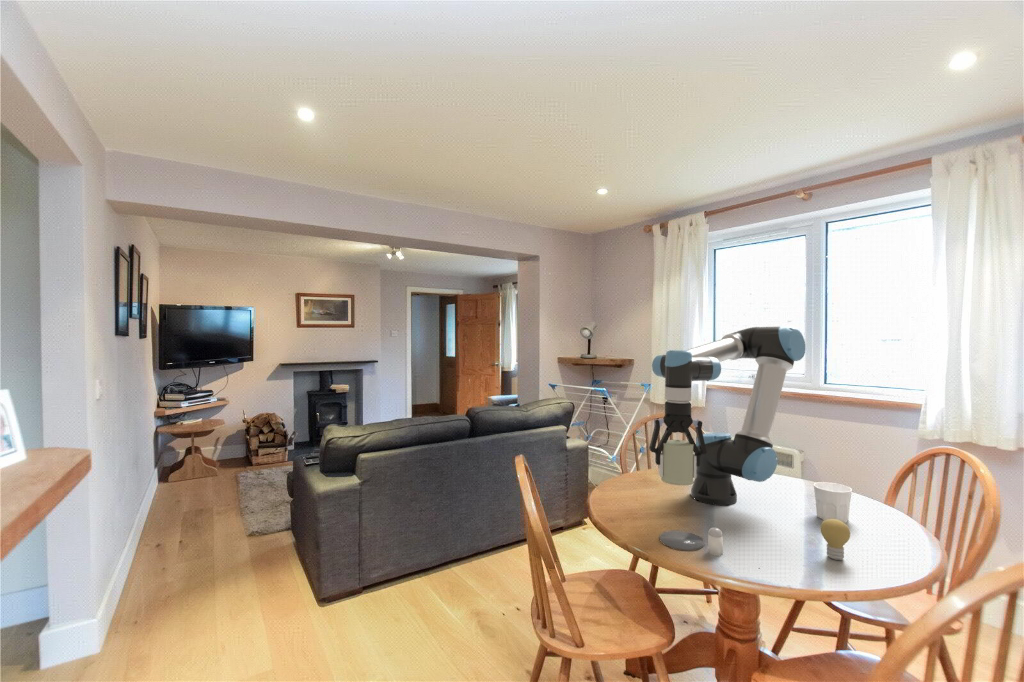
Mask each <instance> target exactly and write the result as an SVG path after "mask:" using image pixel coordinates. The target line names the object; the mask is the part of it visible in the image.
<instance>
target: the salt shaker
mask: <svg viewBox="0 0 1024 682" xmlns="http://www.w3.org/2000/svg"><path fill="white" fill-rule="evenodd" d="M723 535H724V534H723V532H722V530H721V529H720V528H718V527H711V528H709V530H708V532H707V550H708V551H707V553H708V554H709V555H711V556H713V557H722V556H723V553H724V552H723V551H724V550H723V549H724V545H723V542H724V540H723Z"/></svg>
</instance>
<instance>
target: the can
mask: <svg viewBox="0 0 1024 682" xmlns="http://www.w3.org/2000/svg"><path fill="white" fill-rule="evenodd" d="M663 444H664V448H663V450H662V452H661V453H662V454H663V477H661V478H660V480H661V481H662V482H663V483H665V484H668V485H673V486H691V485H693V482H694V478H693V454H694V451H693V446H694V444H690V443H689V441H688V440H684V439H683V440H681V439H680V440H679V439H668V440H667V442H666V443H663Z"/></svg>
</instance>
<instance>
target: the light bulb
mask: <svg viewBox="0 0 1024 682" xmlns="http://www.w3.org/2000/svg"><path fill="white" fill-rule="evenodd" d="M819 530H820V533H821V535H822V538H823V539H824V540H825V542H826V555H827V557H829V559H831V560H835V561H841V560H843V559H845V556H844V555H845V552H844V551H845V547H844V546H845V545H846V544H847V543H848V542H849V540H850V539H851V530H850V527H849V526H848V525H847V523H843V522H842V521H840V520H837V519H828V520H825V521H824V520H823V521H822V522H821V525H820V529H819Z"/></svg>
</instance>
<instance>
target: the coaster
mask: <svg viewBox="0 0 1024 682" xmlns="http://www.w3.org/2000/svg"><path fill="white" fill-rule="evenodd" d="M660 540H661V541H660ZM659 541H660V543H662V544H663V543H664V544H665V545H664V544H663V545H664V546H666V545H667V546H666V547H668V546H669V547H668V548H670V547H671V549H673V548H674V549H675V550H678V551H686V552H687V551H688V552H690V551H698V550H700V549H701V550H702V549H703V548H704V546H705V540H704V538H702V537H701V536H700V535H698V534H695V533H693V532H690V531H685V530H666V531H662V532H661V533H660V534H659Z"/></svg>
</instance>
